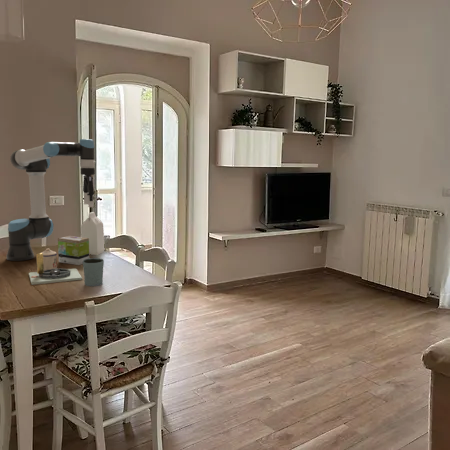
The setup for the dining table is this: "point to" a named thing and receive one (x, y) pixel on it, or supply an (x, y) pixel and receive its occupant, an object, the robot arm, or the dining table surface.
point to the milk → (93, 234)
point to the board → (39, 280)
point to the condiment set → (49, 259)
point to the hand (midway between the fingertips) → (88, 205)
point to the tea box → (73, 249)
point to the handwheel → (53, 272)
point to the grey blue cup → (93, 271)
